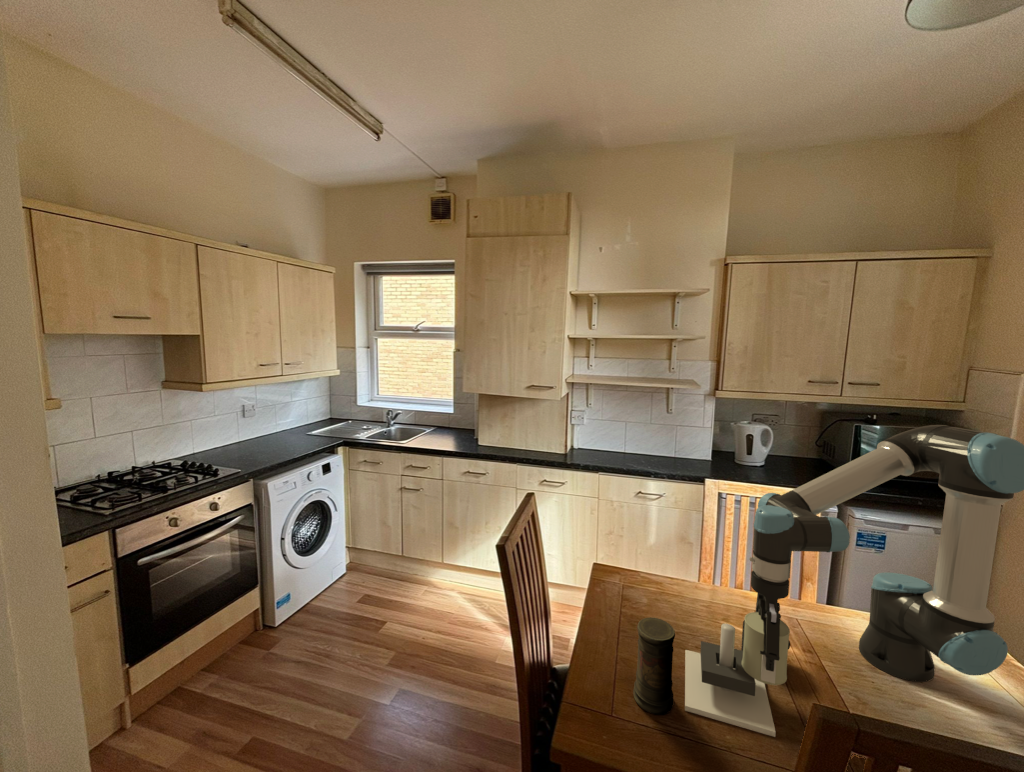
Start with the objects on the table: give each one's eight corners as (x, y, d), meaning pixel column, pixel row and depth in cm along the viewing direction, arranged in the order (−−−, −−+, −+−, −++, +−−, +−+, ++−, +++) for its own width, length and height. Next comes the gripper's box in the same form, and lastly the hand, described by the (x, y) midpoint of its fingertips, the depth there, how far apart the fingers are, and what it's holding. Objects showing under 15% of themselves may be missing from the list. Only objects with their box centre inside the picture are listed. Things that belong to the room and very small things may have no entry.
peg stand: (760, 672, 111) (764, 612, 110) (775, 737, 93) (779, 666, 91) (685, 653, 118) (687, 597, 116) (684, 710, 99) (687, 644, 98)
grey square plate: (748, 663, 108) (749, 652, 108) (754, 696, 98) (755, 683, 98) (700, 651, 112) (701, 640, 112) (701, 682, 102) (702, 670, 102)
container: (629, 684, 107) (631, 615, 106) (666, 685, 107) (668, 616, 105) (639, 715, 98) (641, 640, 97) (679, 716, 98) (682, 641, 96)
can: (786, 666, 103) (790, 618, 102) (786, 691, 95) (790, 640, 94) (743, 651, 108) (746, 605, 107) (739, 674, 100) (742, 625, 99)
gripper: (745, 551, 111) (740, 634, 113) (758, 595, 91) (752, 695, 93) (779, 556, 108) (774, 641, 110) (800, 603, 88) (793, 706, 90)
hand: (764, 666), depth 102 cm, fingers closed on can, 9 cm apart
